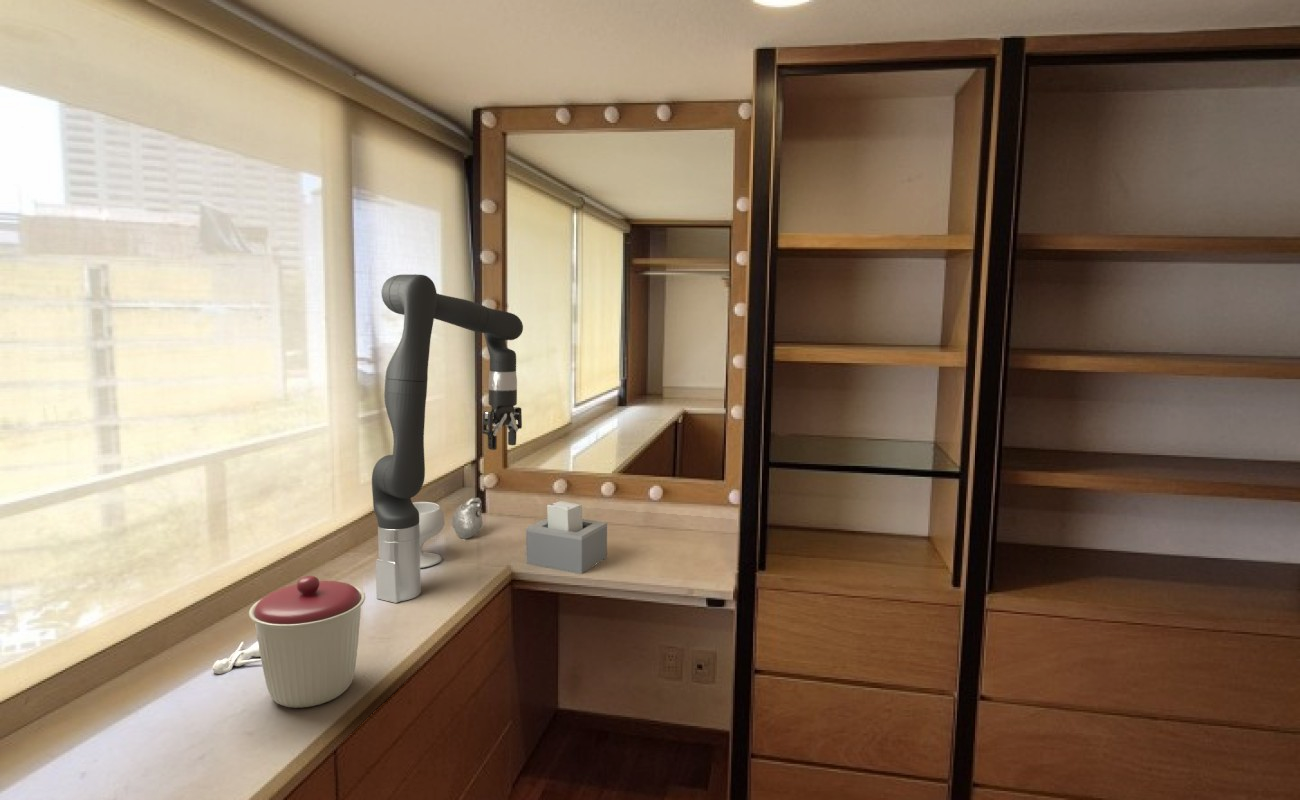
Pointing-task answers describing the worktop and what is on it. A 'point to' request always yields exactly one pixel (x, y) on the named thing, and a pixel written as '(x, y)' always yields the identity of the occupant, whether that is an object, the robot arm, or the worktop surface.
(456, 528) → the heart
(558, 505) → the skincare box
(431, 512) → the chalice
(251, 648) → the woman figurine
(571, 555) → the open gray box
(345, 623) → the canister
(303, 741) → the worktop surface
